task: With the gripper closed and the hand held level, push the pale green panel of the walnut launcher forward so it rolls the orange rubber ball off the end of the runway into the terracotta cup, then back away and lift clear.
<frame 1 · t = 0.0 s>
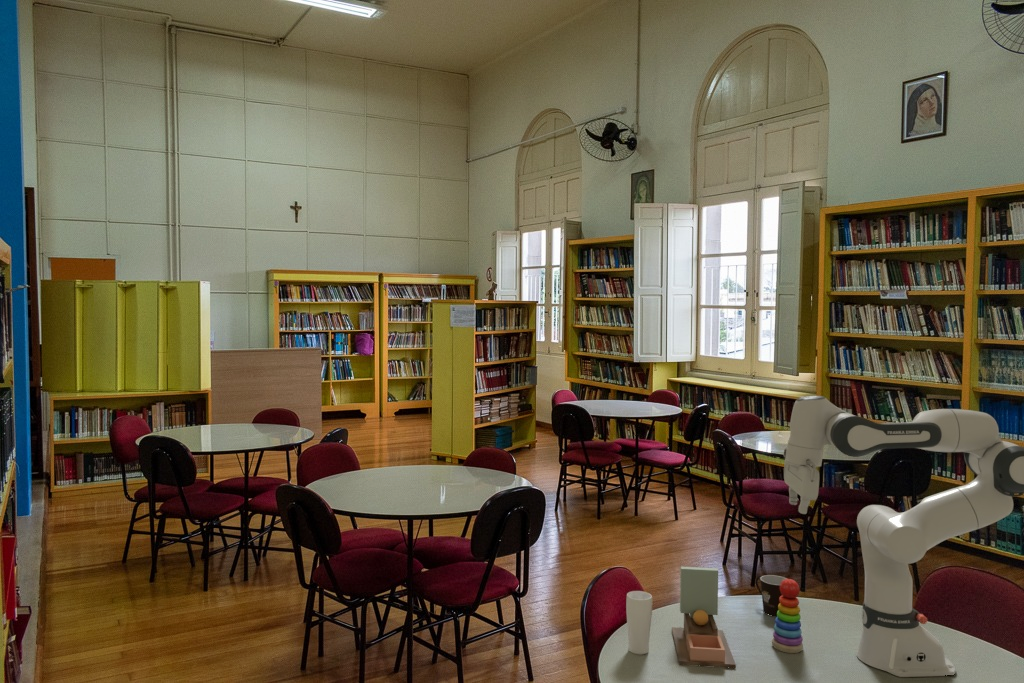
hand: (797, 508, 194), 39 cm above the table, tool pointing down, fingers open, 8 cm apart
terracotta cup: (705, 658, 191), resting on walnut launcher
coffee mug: (772, 611, 224), on the table
pale green panel: (698, 592, 205), point 12 cm above the table, slide at 0.0 cm
drinking glass: (638, 651, 196), on the table
walnut launcher: (701, 648, 198), on the table
orange rubber ball: (700, 617, 201), point 7 cm above the table, touching walnut launcher
stacking toy: (787, 648, 199), on the table
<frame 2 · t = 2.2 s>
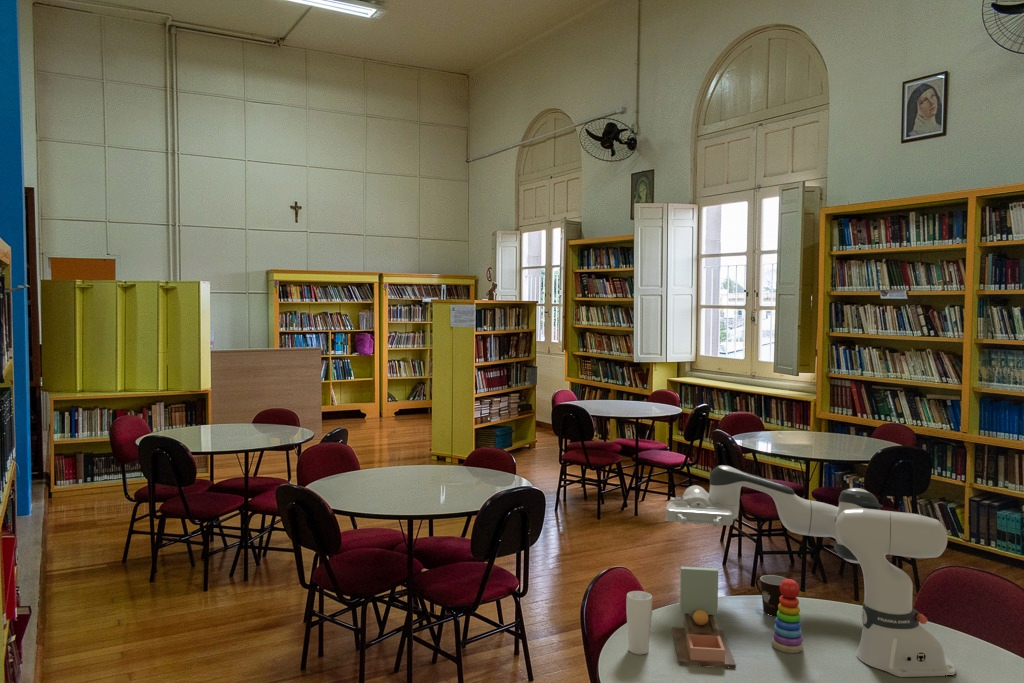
hand: (699, 522, 221), 27 cm above the table, tool horizontal, fingers open, 8 cm apart
nothing on the table moved.
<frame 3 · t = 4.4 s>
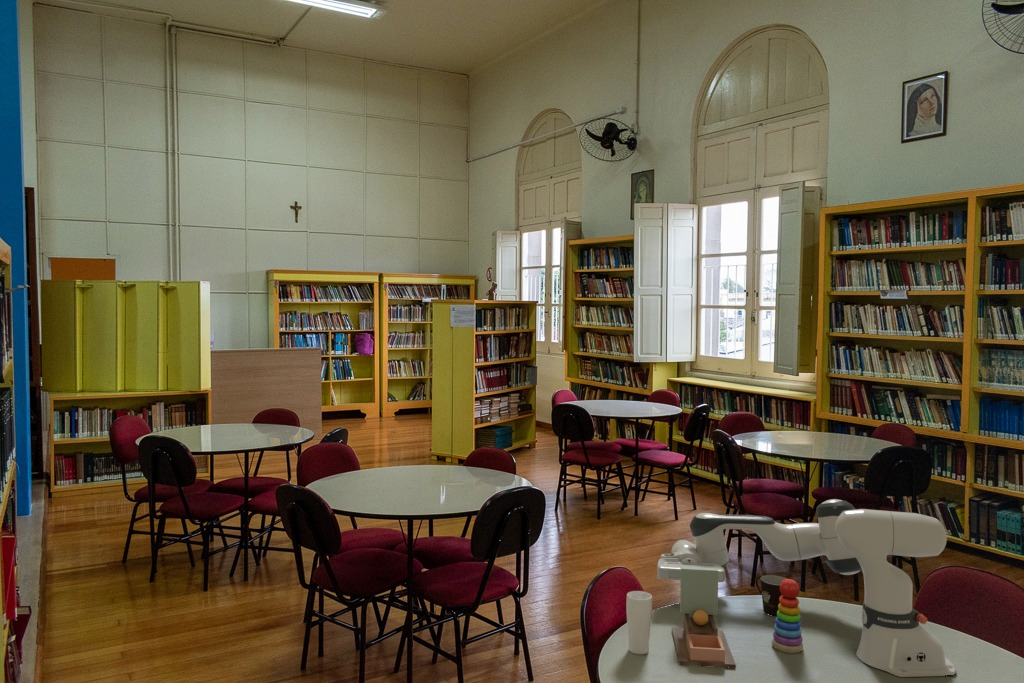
hand: (693, 580, 218), 11 cm above the table, tool horizontal, fingers closed
nothing on the table moved.
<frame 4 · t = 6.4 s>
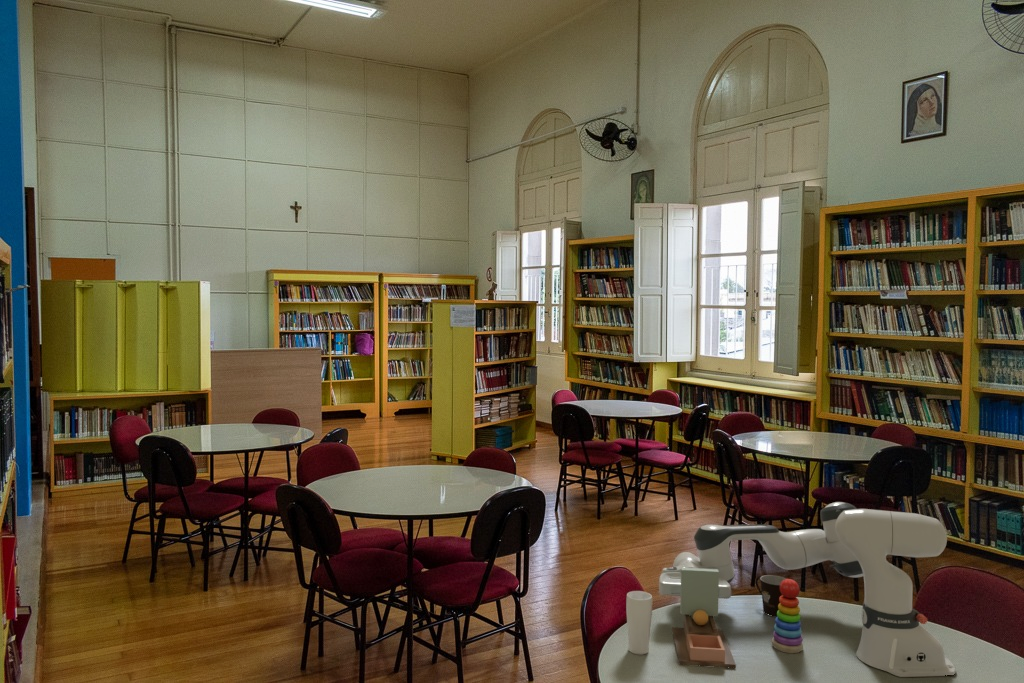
hand: (697, 597, 205), 11 cm above the table, tool horizontal, fingers closed, pressing on pale green panel
pale green panel: (699, 593, 204), point 12 cm above the table, slide at 0.9 cm, touching gripper
everything else where it was.
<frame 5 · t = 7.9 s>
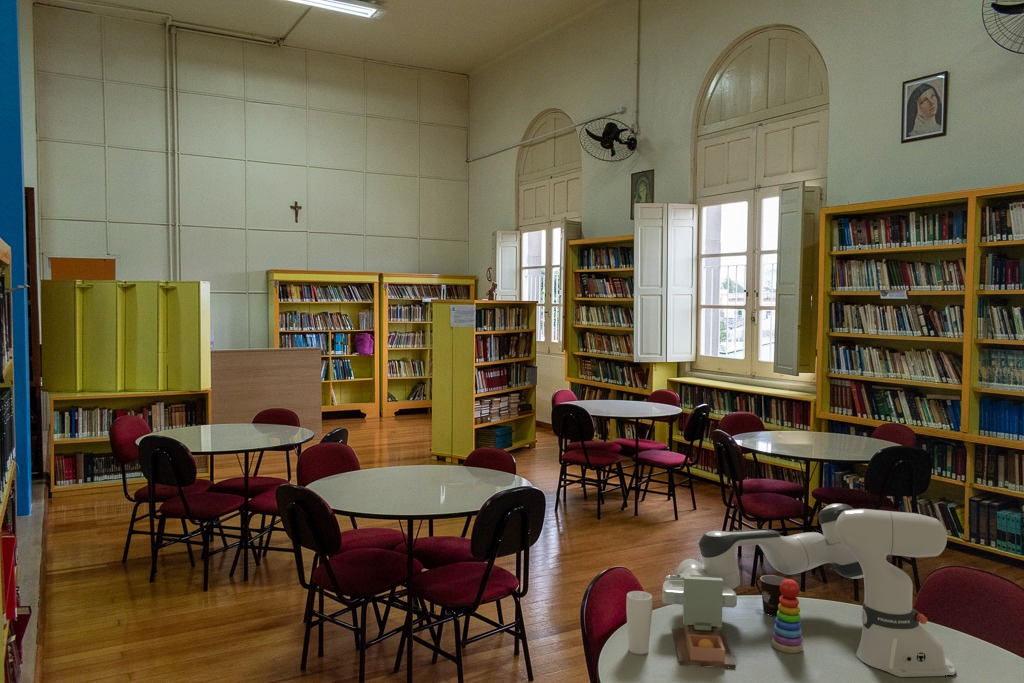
hand: (702, 606, 198), 11 cm above the table, tool horizontal, fingers closed, pressing on pale green panel
pale green panel: (702, 603, 197), point 12 cm above the table, slide at 7.9 cm, touching gripper
orange rubber ball: (705, 646, 191), point 3 cm above the table, tilted 44°, touching terracotta cup
everything else where it was.
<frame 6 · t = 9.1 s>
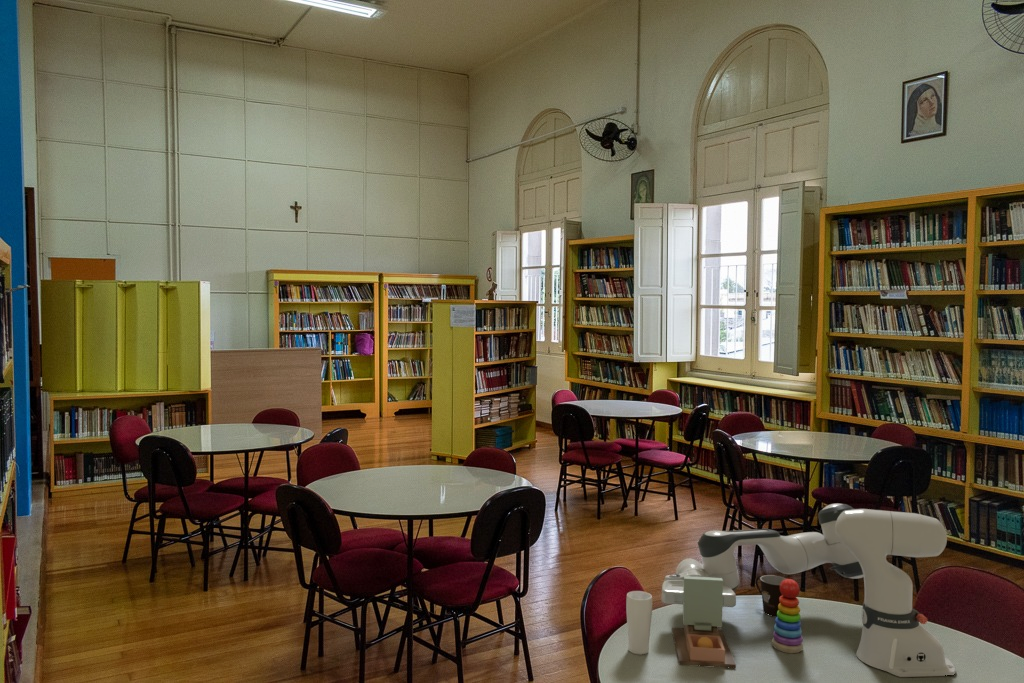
hand: (701, 606, 199), 11 cm above the table, tool horizontal, fingers closed
pale green panel: (702, 603, 197), point 12 cm above the table, slide at 7.9 cm
orange rubber ball: (705, 644, 192), point 3 cm above the table, tilted 79°, touching terracotta cup
everything else where it was.
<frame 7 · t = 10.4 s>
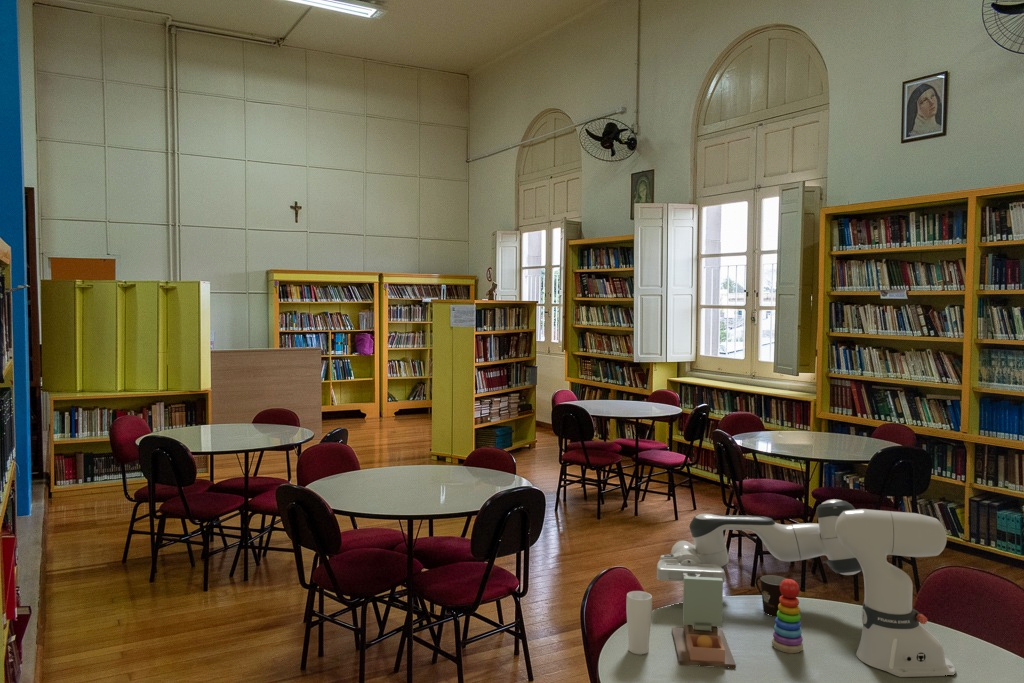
hand: (692, 582, 218), 11 cm above the table, tool horizontal, fingers closed
orange rubber ball: (704, 643, 193), point 3 cm above the table, tilted 110°, touching terracotta cup
everything else where it was.
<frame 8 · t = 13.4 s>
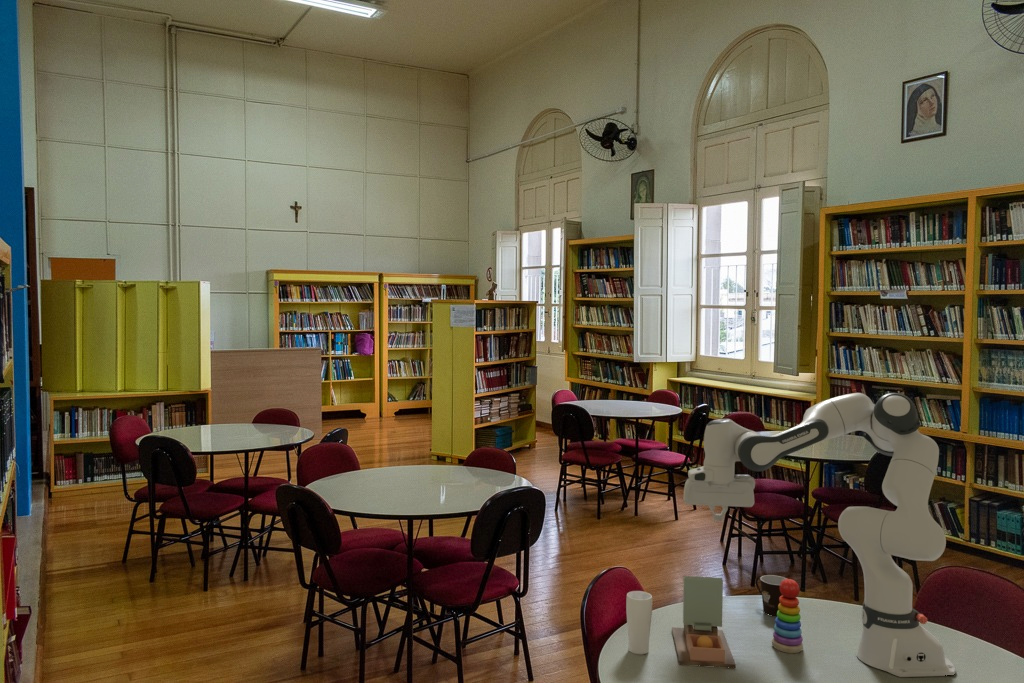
hand: (718, 520, 218), 29 cm above the table, tool pointing down, fingers closed
orange rubber ball: (704, 643, 192), point 3 cm above the table, tilted 98°, touching terracotta cup
everything else where it was.
at the end: orange rubber ball 1.0 cm off-centre on the terracotta cup, point 3.5 cm above the terracotta cup's base; pale green panel slide at 7.9 cm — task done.
